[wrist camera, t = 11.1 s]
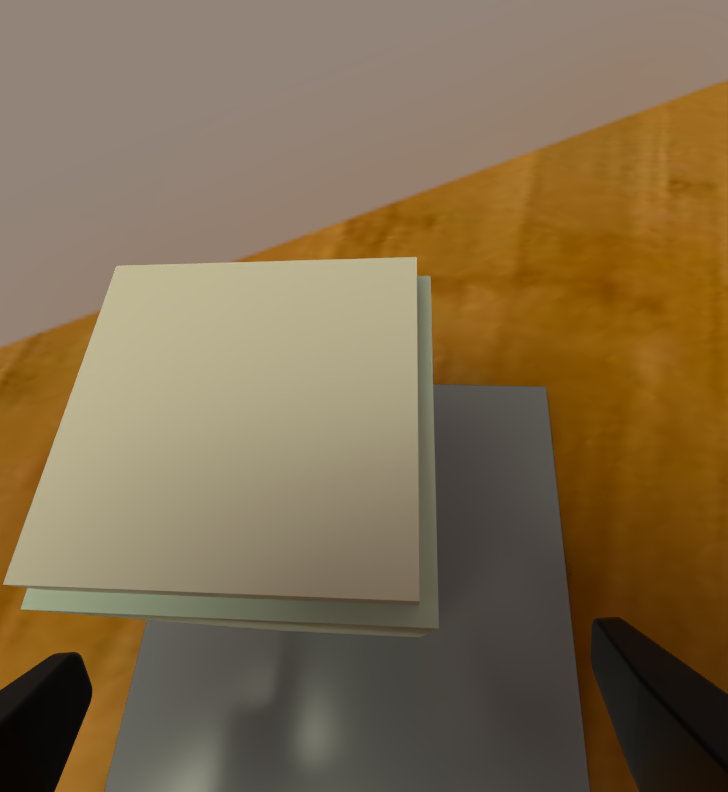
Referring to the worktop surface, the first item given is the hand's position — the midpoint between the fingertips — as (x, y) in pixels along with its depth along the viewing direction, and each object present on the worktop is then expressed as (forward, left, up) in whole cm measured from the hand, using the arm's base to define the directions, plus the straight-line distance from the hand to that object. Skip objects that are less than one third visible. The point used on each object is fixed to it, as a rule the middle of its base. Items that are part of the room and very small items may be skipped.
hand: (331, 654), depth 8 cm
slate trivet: (+3, +1, -8) cm, 9 cm away
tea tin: (+3, +1, -8) cm, 8 cm away
